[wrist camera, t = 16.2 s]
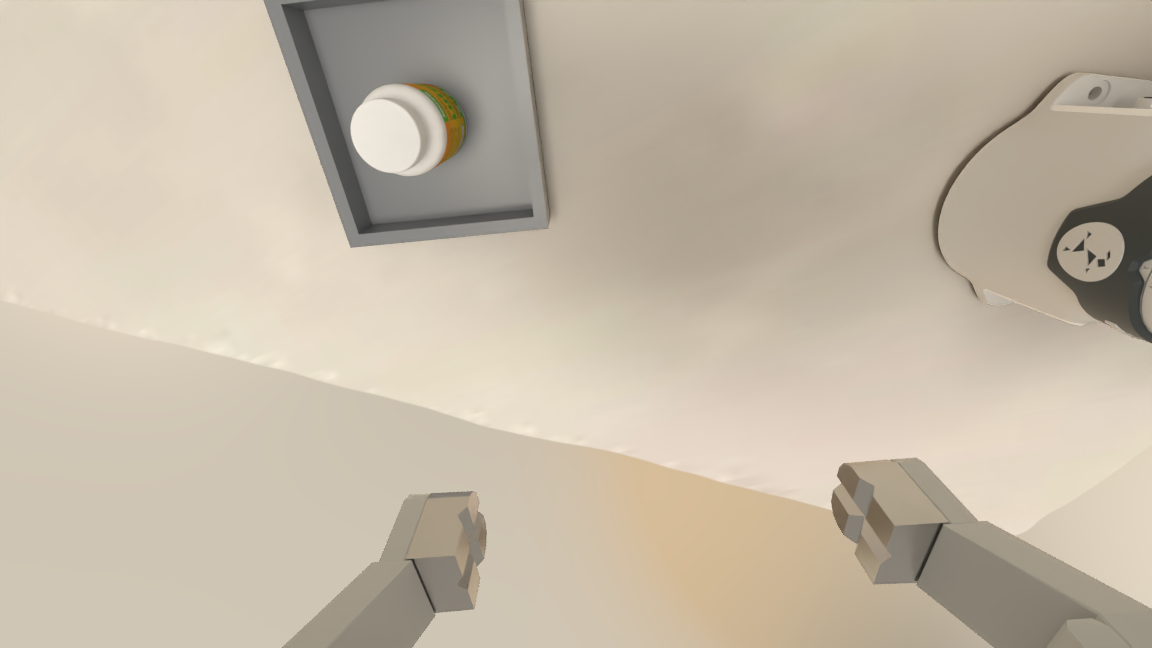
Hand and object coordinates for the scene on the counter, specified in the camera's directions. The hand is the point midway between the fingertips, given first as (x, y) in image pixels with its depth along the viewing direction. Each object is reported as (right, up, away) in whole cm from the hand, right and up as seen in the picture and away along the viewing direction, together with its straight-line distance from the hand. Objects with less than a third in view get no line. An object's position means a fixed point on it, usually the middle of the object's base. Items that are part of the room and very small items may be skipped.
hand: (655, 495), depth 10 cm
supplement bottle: (-13, +19, +24) cm, 33 cm away
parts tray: (-13, +20, +24) cm, 34 cm away
